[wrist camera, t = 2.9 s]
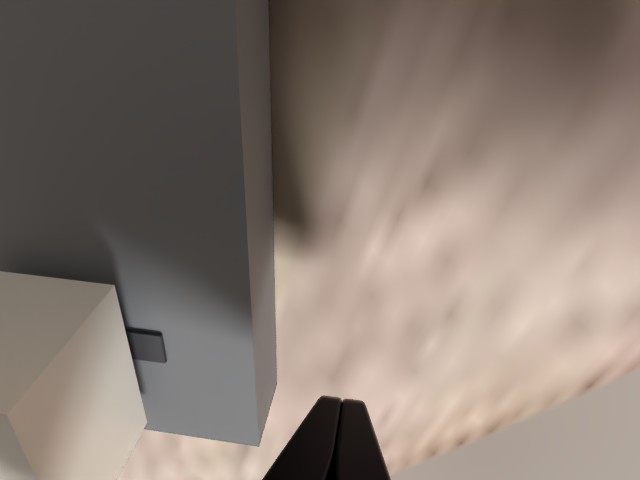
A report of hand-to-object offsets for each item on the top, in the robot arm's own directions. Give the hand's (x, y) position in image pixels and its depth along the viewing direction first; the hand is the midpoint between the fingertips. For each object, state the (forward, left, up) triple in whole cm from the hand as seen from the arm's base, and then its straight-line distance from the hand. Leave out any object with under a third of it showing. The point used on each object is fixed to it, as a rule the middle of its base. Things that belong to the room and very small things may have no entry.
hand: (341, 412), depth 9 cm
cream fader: (+6, 0, -1) cm, 6 cm away
